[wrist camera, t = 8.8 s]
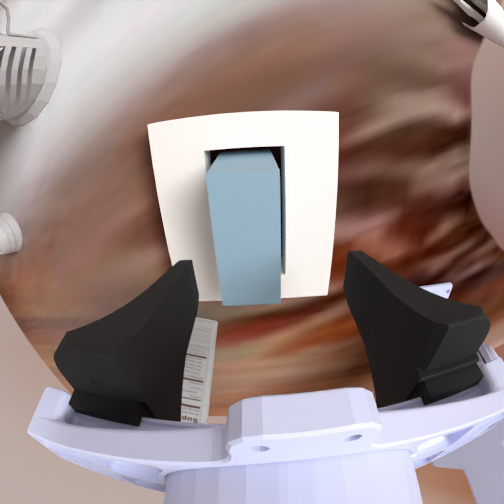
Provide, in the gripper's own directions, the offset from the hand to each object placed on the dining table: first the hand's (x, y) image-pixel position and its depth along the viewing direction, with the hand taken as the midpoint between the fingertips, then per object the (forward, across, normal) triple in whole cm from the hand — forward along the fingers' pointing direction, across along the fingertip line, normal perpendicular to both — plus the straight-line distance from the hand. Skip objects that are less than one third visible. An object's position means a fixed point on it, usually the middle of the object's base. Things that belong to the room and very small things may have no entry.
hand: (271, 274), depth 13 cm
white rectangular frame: (+9, +1, 0) cm, 9 cm away
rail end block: (+9, +1, 0) cm, 9 cm away
